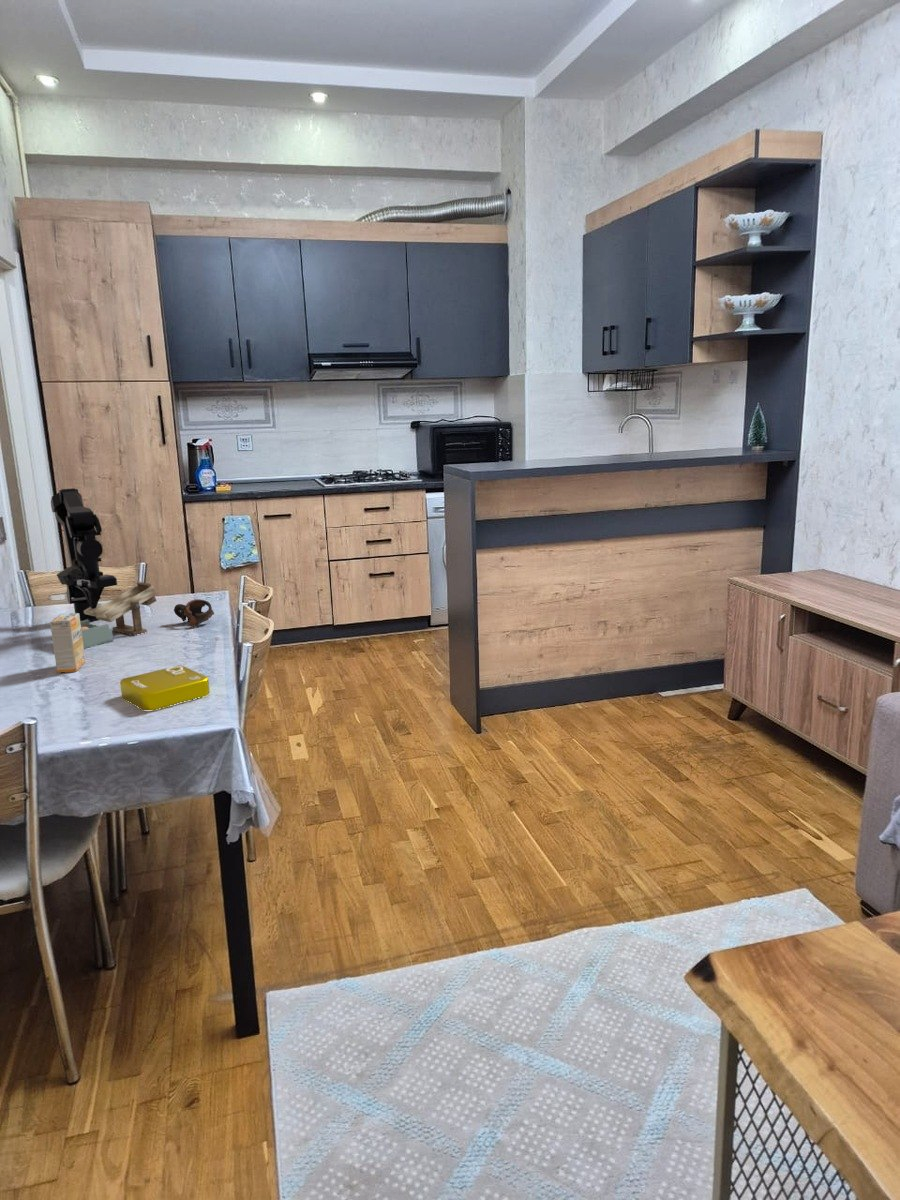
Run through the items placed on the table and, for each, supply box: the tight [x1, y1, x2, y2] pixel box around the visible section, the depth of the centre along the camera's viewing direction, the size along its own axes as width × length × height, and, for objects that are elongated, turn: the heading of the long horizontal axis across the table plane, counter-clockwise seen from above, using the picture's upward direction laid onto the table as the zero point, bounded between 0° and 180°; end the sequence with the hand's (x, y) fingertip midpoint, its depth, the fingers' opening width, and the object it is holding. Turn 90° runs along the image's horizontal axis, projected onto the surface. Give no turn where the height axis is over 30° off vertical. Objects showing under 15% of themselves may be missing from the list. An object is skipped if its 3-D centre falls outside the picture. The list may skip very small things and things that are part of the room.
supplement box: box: [49, 612, 86, 674], centre depth 197 cm, size 8×5×13 cm, turn 9°
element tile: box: [119, 665, 211, 711], centre depth 175 cm, size 15×15×5 cm
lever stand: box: [111, 597, 148, 636], centre depth 230 cm, size 4×11×10 cm, turn 54°
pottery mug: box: [173, 598, 215, 628], centre depth 238 cm, size 12×10×8 cm
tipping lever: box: [83, 581, 157, 623], centre depth 232 cm, size 16×15×5 cm
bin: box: [80, 620, 114, 649], centre depth 220 cm, size 11×11×5 cm
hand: (93, 608), depth 231 cm, fingers closed, pressing on tipping lever
